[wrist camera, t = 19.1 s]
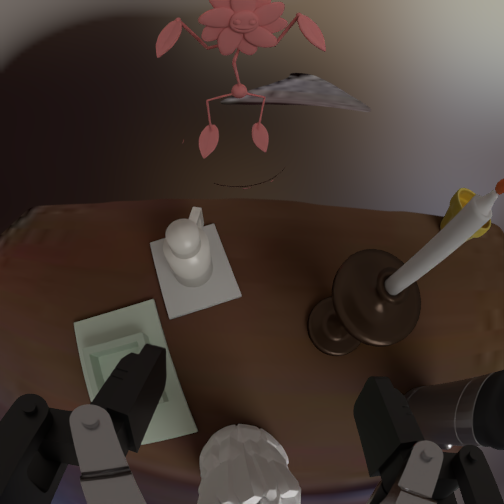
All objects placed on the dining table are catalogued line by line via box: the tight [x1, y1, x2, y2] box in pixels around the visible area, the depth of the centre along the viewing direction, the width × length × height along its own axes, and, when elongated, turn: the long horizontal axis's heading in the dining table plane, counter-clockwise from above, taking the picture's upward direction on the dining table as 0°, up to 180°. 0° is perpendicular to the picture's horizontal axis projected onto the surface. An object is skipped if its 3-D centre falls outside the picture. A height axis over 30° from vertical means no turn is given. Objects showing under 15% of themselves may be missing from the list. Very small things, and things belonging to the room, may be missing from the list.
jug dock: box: [74, 299, 198, 445], centre depth 33 cm, size 20×14×4 cm
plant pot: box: [440, 188, 491, 241], centre depth 47 cm, size 10×10×10 cm
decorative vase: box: [197, 424, 301, 504], centre depth 19 cm, size 11×11×25 cm
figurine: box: [156, 0, 326, 187], centre depth 39 cm, size 15×26×35 cm, turn 98°
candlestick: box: [307, 179, 504, 356], centre depth 25 cm, size 11×11×35 cm
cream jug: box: [163, 207, 213, 287], centre depth 38 cm, size 9×6×10 cm
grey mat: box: [150, 224, 242, 319], centre depth 42 cm, size 13×11×1 cm
